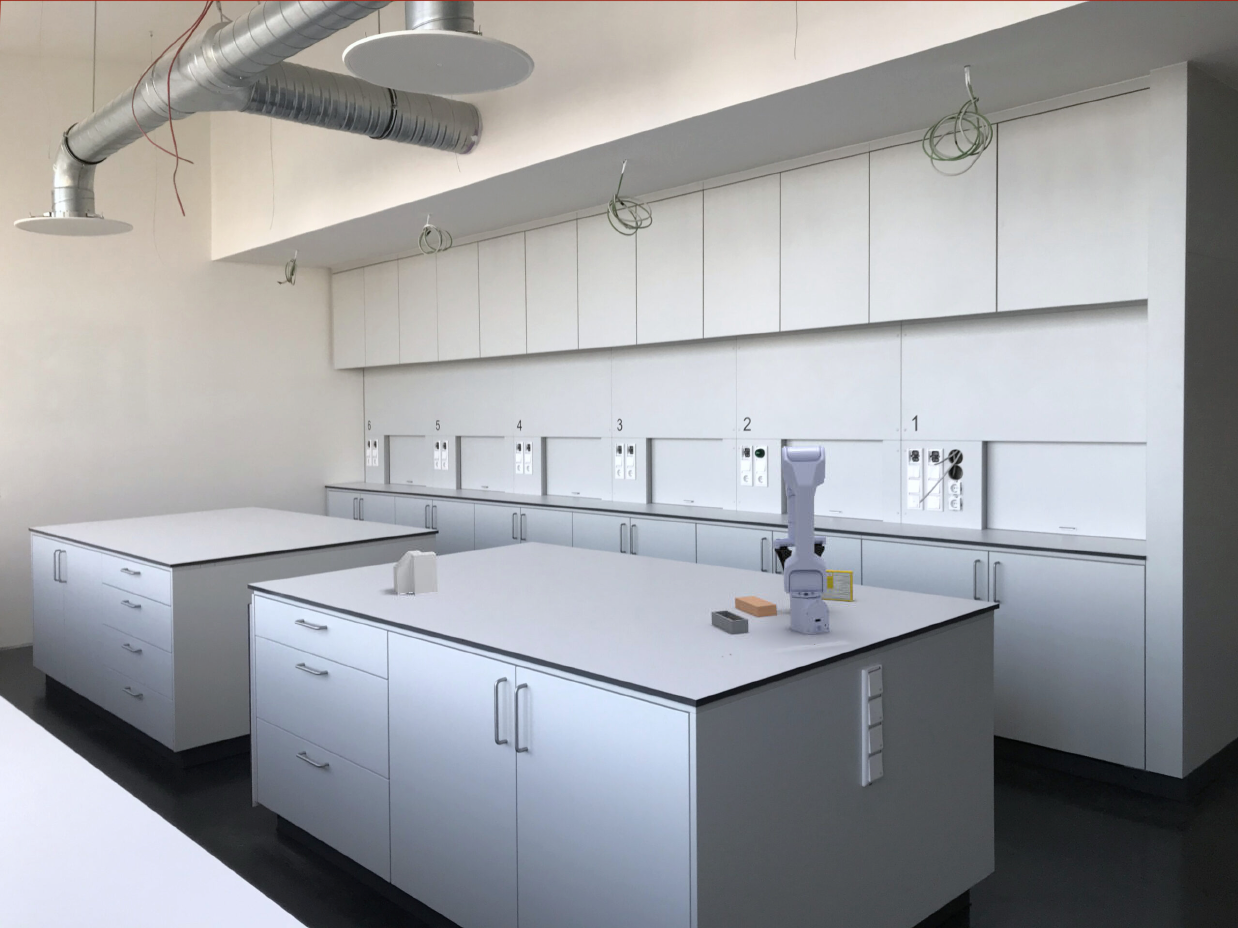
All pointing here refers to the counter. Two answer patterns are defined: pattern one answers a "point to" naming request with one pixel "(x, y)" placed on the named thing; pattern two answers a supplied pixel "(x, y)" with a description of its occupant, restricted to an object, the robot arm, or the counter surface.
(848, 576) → the candy box
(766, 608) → the tan rectangular plank
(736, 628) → the storage box
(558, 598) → the counter surface
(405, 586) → the corner bracket
